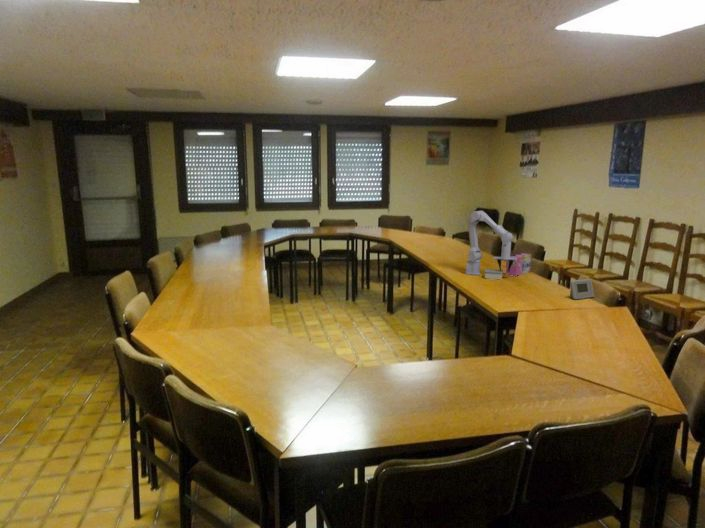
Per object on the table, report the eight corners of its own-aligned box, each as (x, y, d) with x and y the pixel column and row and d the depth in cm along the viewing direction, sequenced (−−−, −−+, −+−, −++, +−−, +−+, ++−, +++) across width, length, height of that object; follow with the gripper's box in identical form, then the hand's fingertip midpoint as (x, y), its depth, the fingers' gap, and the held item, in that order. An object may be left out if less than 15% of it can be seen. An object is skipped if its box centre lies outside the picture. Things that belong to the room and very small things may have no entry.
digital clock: (573, 300, 272) (575, 282, 270) (563, 296, 281) (565, 278, 279) (598, 299, 276) (600, 281, 274) (587, 295, 285) (589, 277, 282)
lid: (484, 272, 321) (485, 266, 320) (484, 269, 329) (485, 264, 328) (506, 274, 317) (506, 268, 316) (505, 271, 325) (506, 265, 325)
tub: (484, 278, 322) (485, 272, 321) (484, 276, 330) (485, 270, 329) (501, 280, 319) (502, 274, 318) (501, 277, 327) (502, 271, 326)
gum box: (521, 270, 351) (522, 251, 348) (531, 271, 345) (533, 253, 342) (504, 275, 334) (506, 255, 332) (515, 277, 329) (517, 257, 326)
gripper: (494, 251, 317) (493, 271, 320) (517, 252, 313) (516, 273, 316) (494, 249, 323) (493, 269, 326) (517, 250, 320) (515, 270, 322)
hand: (504, 270), depth 321 cm, fingers open, 5 cm apart
